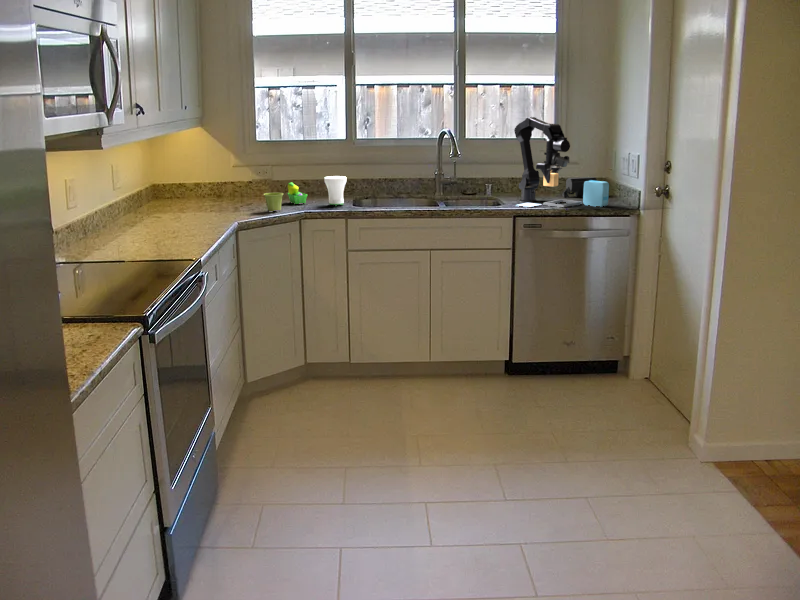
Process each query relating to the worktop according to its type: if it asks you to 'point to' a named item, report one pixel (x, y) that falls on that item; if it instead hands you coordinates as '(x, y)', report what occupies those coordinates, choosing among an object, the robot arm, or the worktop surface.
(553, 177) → the module
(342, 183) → the cup
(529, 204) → the mat
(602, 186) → the data package
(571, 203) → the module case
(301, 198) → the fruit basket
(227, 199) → the worktop surface
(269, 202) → the plant pot
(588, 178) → the security camera
